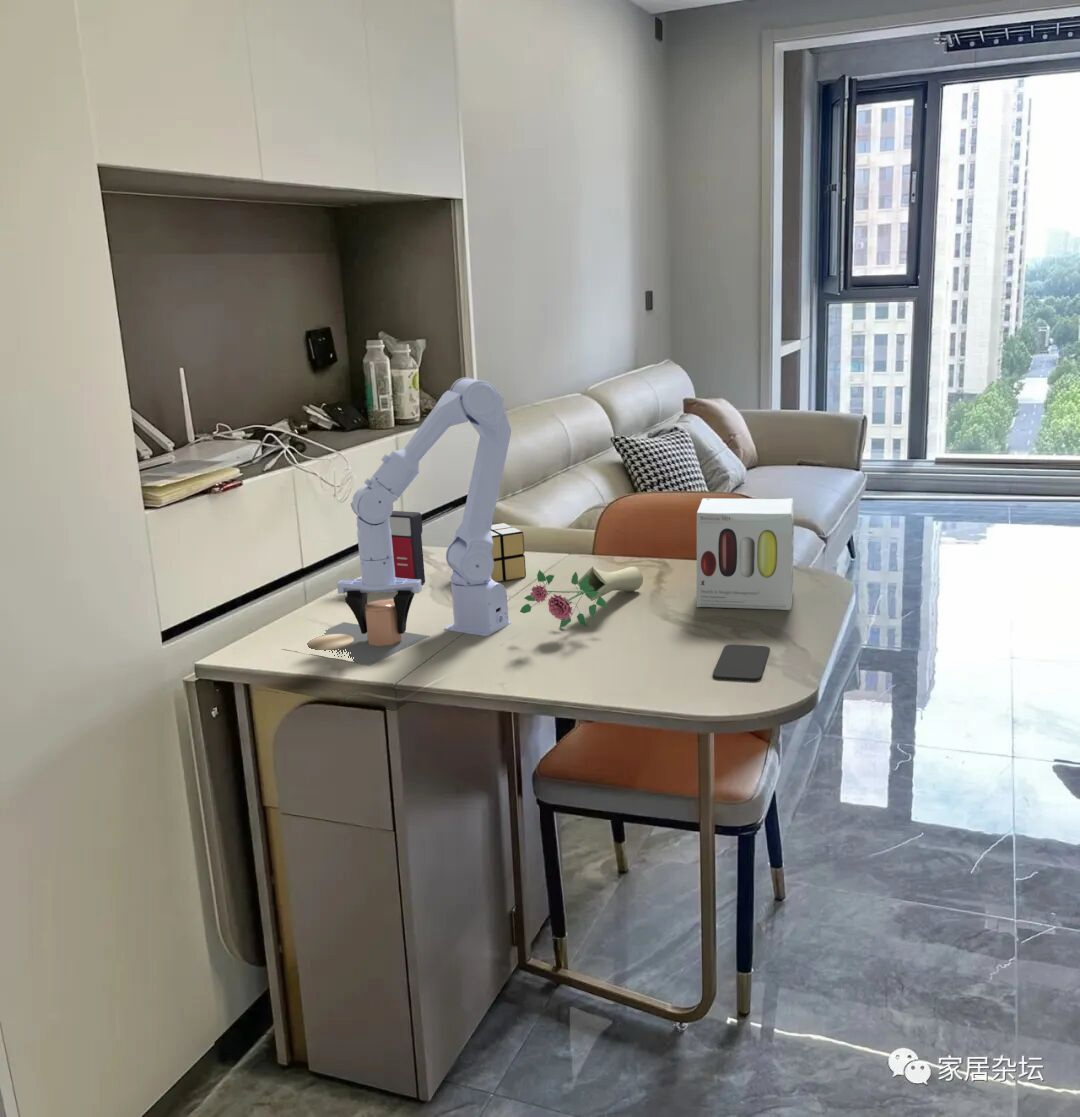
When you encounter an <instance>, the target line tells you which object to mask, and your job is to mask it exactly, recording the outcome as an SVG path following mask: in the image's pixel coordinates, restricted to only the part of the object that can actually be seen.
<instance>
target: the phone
mask: <svg viewBox="0 0 1080 1117" xmlns="http://www.w3.org/2000/svg"><path fill="white" fill-rule="evenodd" d="M770 653H771V649H770V647H769V646H765V645H754V644H753V645H750V644H726V645H724V647H723V649H722V651H721V653H720V655H719V658H718V660H717V662H716V665H715V667H714V669H713V671H712V679H715V680H717V681H718V680H719V681H734V682H735V681H737V682H750V683H753V682H754V683H755V682H760V681H761V680H762V678H763V675H764V673H765V670H766V665H767V662H768V659H767V658H769V656H770Z"/></svg>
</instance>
